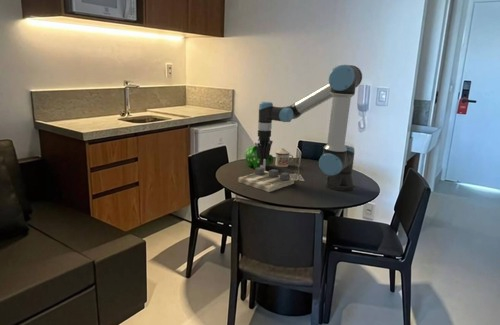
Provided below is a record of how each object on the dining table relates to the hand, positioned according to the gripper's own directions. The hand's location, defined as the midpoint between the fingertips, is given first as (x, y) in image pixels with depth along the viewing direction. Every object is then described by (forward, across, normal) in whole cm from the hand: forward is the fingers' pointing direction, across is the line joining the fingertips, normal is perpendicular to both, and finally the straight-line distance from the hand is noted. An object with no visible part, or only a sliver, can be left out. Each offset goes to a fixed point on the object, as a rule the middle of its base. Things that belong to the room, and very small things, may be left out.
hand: (262, 169), depth 213 cm
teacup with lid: (+5, -31, -8) cm, 32 cm away
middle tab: (+2, 0, +8) cm, 8 cm away
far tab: (+2, +3, 0) cm, 3 cm away
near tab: (+2, 0, +16) cm, 16 cm away
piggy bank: (+5, -15, -17) cm, 23 cm away
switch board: (+5, +6, +8) cm, 11 cm away
